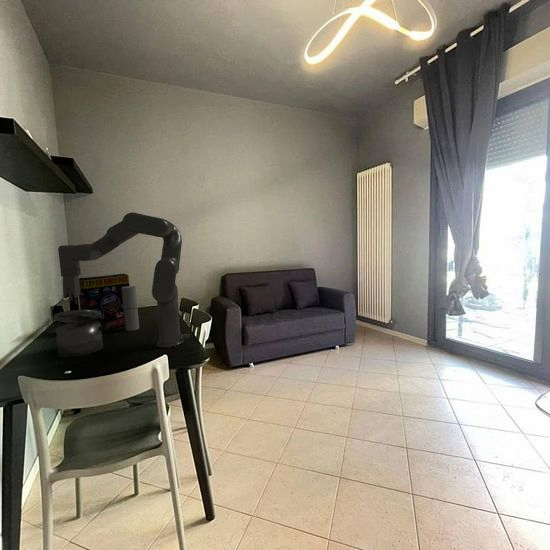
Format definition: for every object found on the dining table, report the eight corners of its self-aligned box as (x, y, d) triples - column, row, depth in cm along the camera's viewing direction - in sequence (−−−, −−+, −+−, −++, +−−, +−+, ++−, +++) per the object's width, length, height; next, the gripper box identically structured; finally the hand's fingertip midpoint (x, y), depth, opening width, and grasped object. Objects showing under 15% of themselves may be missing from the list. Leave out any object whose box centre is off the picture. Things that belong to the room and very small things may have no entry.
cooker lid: (104, 318, 157) (104, 312, 158) (96, 310, 140) (96, 303, 141) (60, 323, 150) (61, 317, 151) (46, 315, 133) (47, 308, 134)
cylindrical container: (134, 330, 177) (130, 287, 174) (123, 330, 178) (118, 288, 175) (141, 327, 184) (138, 286, 181) (131, 327, 185) (127, 286, 182)
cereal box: (126, 321, 201) (120, 272, 198) (135, 323, 194) (129, 272, 191) (81, 332, 180) (74, 278, 177) (89, 334, 173) (82, 278, 170)
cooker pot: (112, 340, 160) (110, 317, 159) (106, 352, 142) (104, 327, 140) (58, 347, 152) (55, 324, 150) (44, 361, 134) (41, 334, 132)
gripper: (65, 271, 145) (70, 309, 147) (55, 274, 131) (60, 316, 133) (84, 270, 148) (88, 308, 150) (76, 273, 134) (80, 314, 136)
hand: (74, 312), depth 141 cm, fingers closed
